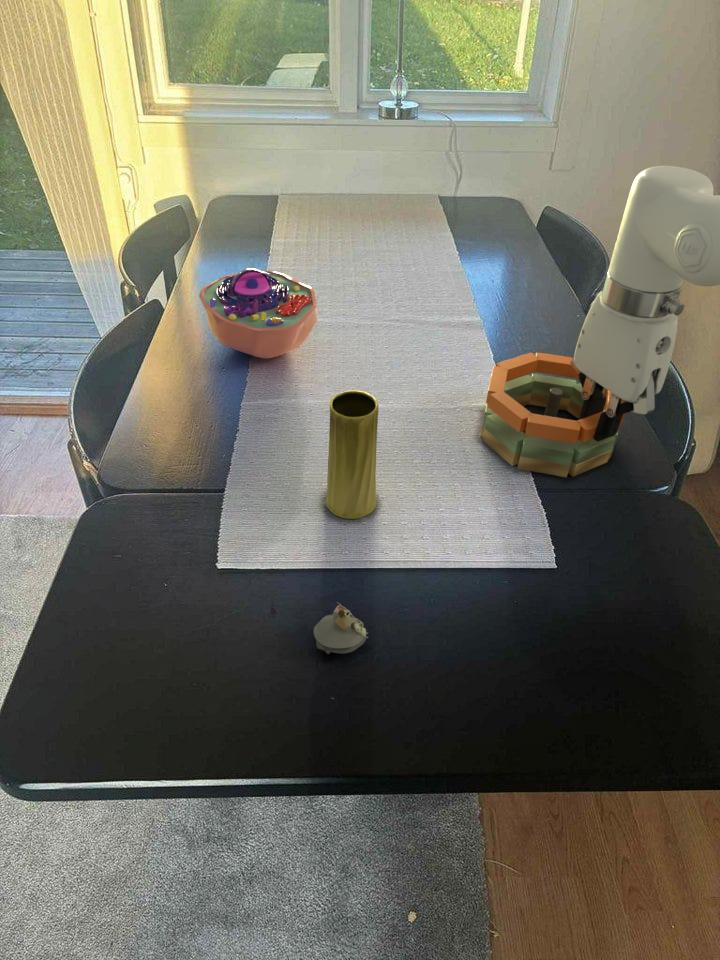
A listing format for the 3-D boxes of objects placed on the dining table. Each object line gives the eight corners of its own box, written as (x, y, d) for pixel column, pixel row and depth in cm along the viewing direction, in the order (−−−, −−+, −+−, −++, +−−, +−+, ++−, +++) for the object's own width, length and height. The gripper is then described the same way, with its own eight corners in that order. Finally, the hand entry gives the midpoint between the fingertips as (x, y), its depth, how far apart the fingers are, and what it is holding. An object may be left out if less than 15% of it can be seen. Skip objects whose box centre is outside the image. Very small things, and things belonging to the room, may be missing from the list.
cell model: (228, 389, 101) (220, 318, 93) (194, 326, 114) (185, 259, 107) (337, 366, 106) (337, 298, 99) (292, 308, 120) (289, 244, 112)
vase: (315, 505, 83) (313, 407, 74) (345, 478, 87) (347, 381, 77) (357, 527, 80) (361, 428, 71) (386, 498, 84) (393, 400, 75)
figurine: (311, 660, 67) (310, 621, 63) (316, 622, 70) (315, 583, 66) (366, 663, 67) (369, 625, 63) (368, 626, 70) (371, 587, 66)
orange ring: (648, 416, 89) (653, 403, 88) (549, 457, 83) (552, 443, 81) (557, 355, 100) (560, 342, 99) (462, 386, 93) (463, 373, 92)
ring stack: (636, 449, 93) (652, 406, 88) (540, 491, 86) (552, 446, 82) (549, 387, 104) (559, 345, 99) (457, 419, 97) (464, 376, 92)
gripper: (725, 317, 71) (667, 458, 83) (609, 258, 81) (572, 391, 93) (674, 334, 68) (622, 477, 80) (561, 271, 78) (530, 407, 90)
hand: (596, 430), depth 87 cm, fingers closed on orange ring, 2 cm apart
